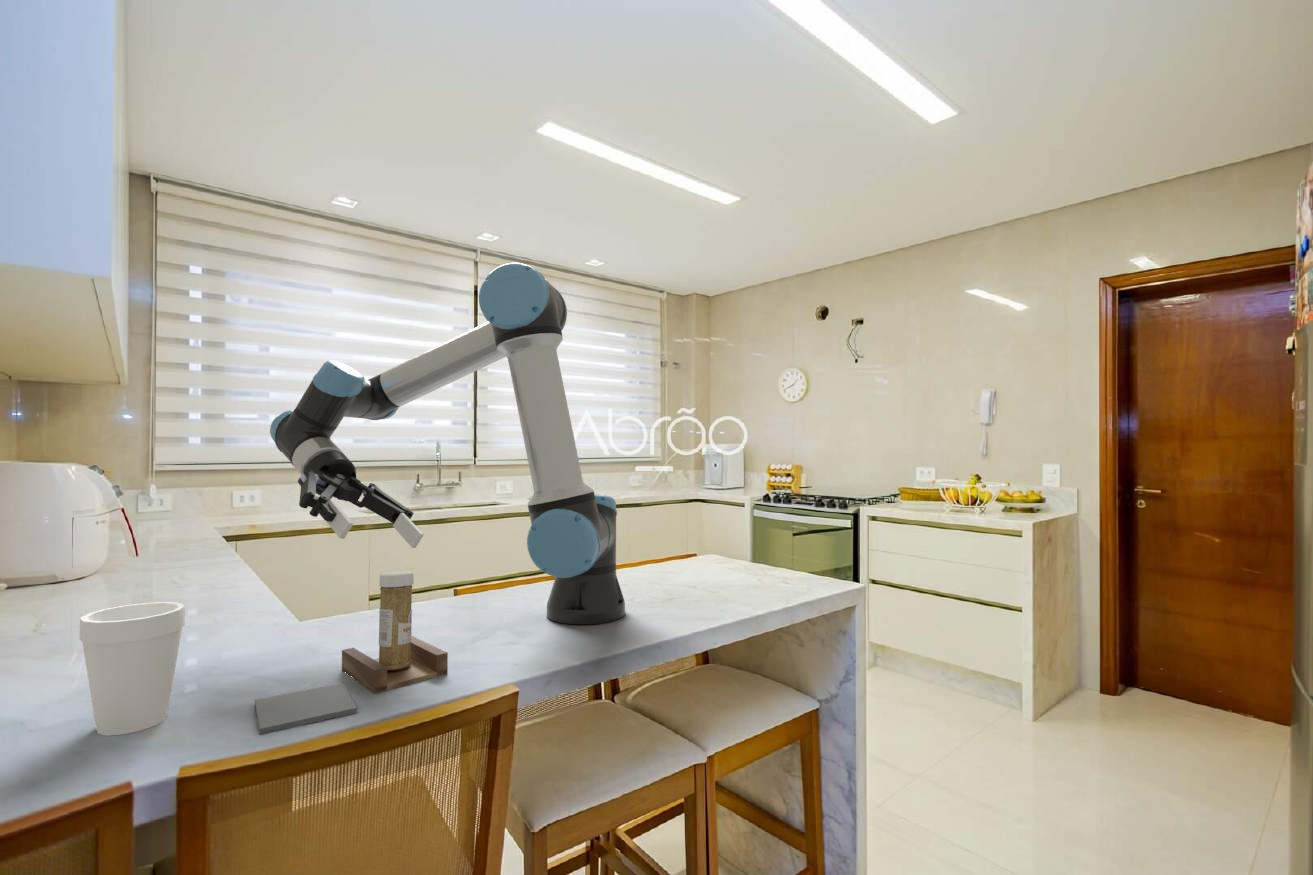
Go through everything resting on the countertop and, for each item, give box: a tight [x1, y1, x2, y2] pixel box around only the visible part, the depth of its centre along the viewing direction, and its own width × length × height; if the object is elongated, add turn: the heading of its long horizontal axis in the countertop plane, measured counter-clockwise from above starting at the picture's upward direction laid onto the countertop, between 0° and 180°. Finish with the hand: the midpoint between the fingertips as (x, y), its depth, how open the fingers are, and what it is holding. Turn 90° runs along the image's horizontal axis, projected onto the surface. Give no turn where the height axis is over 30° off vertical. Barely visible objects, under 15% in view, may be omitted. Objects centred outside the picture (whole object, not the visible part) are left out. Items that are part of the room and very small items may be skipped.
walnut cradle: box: [341, 635, 449, 694], centre depth 90 cm, size 10×12×3 cm
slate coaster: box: [254, 682, 358, 735], centre depth 78 cm, size 10×10×1 cm
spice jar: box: [378, 570, 414, 671], centre depth 91 cm, size 5×5×13 cm
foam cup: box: [79, 601, 186, 736], centre depth 74 cm, size 10×9×13 cm
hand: (384, 536), depth 99 cm, fingers open, 13 cm apart
